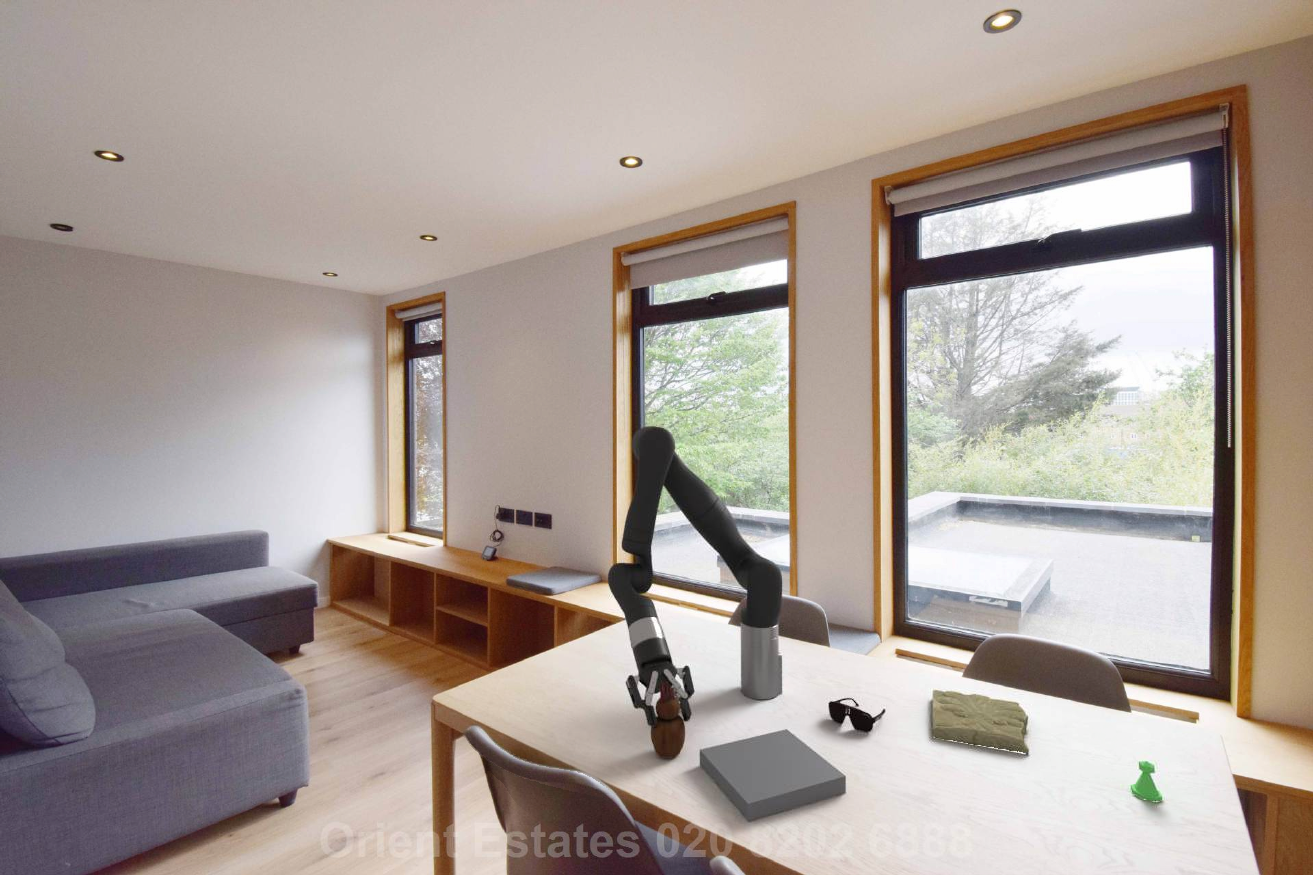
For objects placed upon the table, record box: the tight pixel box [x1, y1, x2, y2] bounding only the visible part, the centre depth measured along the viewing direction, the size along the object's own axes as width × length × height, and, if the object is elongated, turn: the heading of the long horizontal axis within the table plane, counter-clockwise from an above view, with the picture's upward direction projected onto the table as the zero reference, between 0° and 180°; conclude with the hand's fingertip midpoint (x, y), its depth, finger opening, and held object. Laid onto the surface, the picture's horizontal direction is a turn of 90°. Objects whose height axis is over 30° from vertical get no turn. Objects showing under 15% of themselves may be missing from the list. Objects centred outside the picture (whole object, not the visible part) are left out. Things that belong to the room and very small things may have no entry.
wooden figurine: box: [650, 682, 686, 759], centre depth 118 cm, size 7×6×15 cm
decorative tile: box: [931, 689, 1030, 754], centre depth 128 cm, size 19×20×4 cm
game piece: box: [1130, 760, 1163, 803], centre depth 104 cm, size 4×4×6 cm
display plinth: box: [699, 728, 847, 823], centre depth 109 cm, size 20×18×3 cm
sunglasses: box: [828, 697, 886, 733], centre depth 132 cm, size 10×12×5 cm
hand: (671, 723), depth 116 cm, fingers closed on wooden figurine, 6 cm apart
